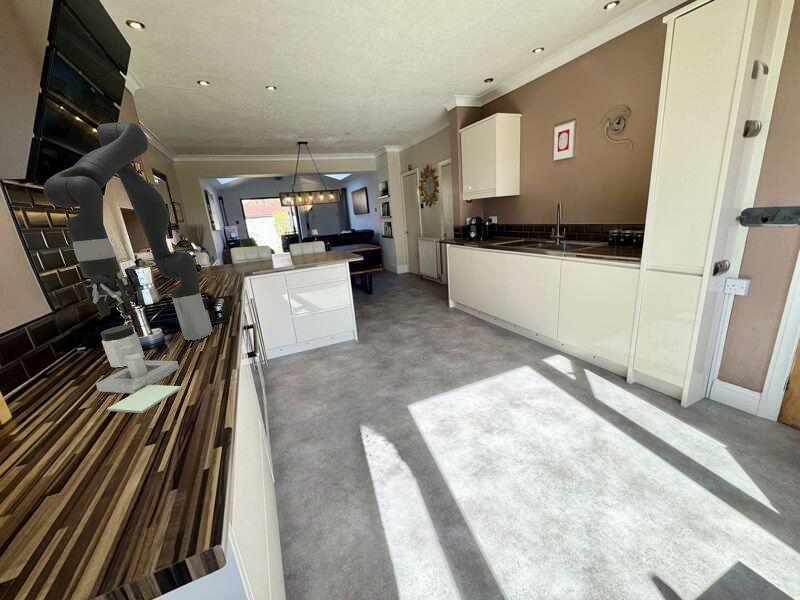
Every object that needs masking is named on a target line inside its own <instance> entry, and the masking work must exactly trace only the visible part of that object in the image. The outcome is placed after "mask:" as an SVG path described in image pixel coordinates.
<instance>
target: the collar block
mask: <svg viewBox="0 0 800 600" xmlns="http://www.w3.org/2000/svg"><path fill="white" fill-rule="evenodd" d="M143 360H144V363H145V366H146V369H147V372H148V373H147V374H145V375H143V376H141V377H139V378H137V379H132V377H131V374H130V372H129V369H128V367H126V368H124V369H121V370H120V371H117V372H115V373H113V374H111V375H109V376H107V377H105V378H104V379H102V380H100V381H98V382H96V383H95V385H96V389H97V390H98V392H104V393H117V394H118V393H119V394H122V393H123V394H134V393H136V392H137V391H139V390H141V389H143V388H144V387H146V386H148V385H155V384H156V383H158V382H159V381H162V380H163V379H165V378H166V377H168V376H170V375H172V374H173V373H174V372H175V371H177V369H178V370H179V369H180V366H179V363H178V361H177V360H148V359H147V360H145V359H143Z"/></svg>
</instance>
